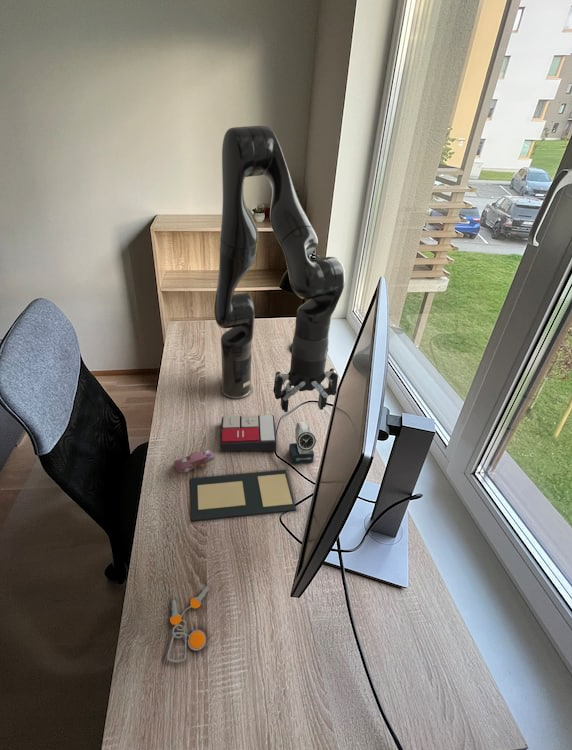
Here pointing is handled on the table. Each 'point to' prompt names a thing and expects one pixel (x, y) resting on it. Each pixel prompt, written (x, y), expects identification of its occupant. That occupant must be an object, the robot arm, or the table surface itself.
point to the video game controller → (194, 460)
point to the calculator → (248, 433)
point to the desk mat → (241, 495)
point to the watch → (302, 444)
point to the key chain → (196, 637)
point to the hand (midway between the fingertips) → (302, 408)
